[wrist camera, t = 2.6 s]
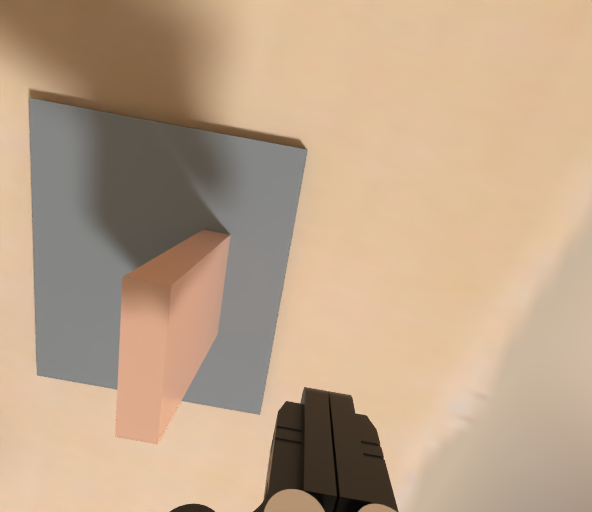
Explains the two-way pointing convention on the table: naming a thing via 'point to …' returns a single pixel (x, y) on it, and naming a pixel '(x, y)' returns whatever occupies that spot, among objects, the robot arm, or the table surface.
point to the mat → (155, 238)
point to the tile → (167, 331)
